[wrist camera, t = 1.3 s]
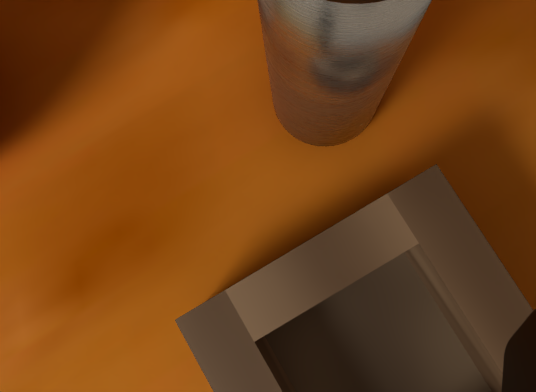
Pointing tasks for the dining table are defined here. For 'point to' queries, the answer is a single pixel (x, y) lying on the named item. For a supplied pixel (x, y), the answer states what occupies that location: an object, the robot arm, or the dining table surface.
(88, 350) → the dining table surface
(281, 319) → the socket block
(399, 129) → the dining table surface
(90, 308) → the dining table surface
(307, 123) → the silver metal can
